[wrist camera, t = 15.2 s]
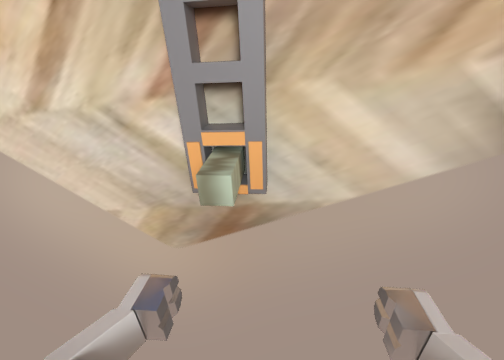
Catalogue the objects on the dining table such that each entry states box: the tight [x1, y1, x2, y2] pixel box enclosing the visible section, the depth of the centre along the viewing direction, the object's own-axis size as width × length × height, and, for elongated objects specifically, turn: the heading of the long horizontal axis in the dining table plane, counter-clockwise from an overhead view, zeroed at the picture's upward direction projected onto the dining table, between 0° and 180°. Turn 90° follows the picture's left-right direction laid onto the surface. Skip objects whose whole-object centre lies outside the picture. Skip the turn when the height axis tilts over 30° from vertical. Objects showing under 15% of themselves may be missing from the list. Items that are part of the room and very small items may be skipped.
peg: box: [196, 146, 245, 206], centre depth 36 cm, size 4×4×12 cm
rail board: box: [159, 0, 267, 194], centre depth 35 cm, size 12×28×4 cm, turn 2°
